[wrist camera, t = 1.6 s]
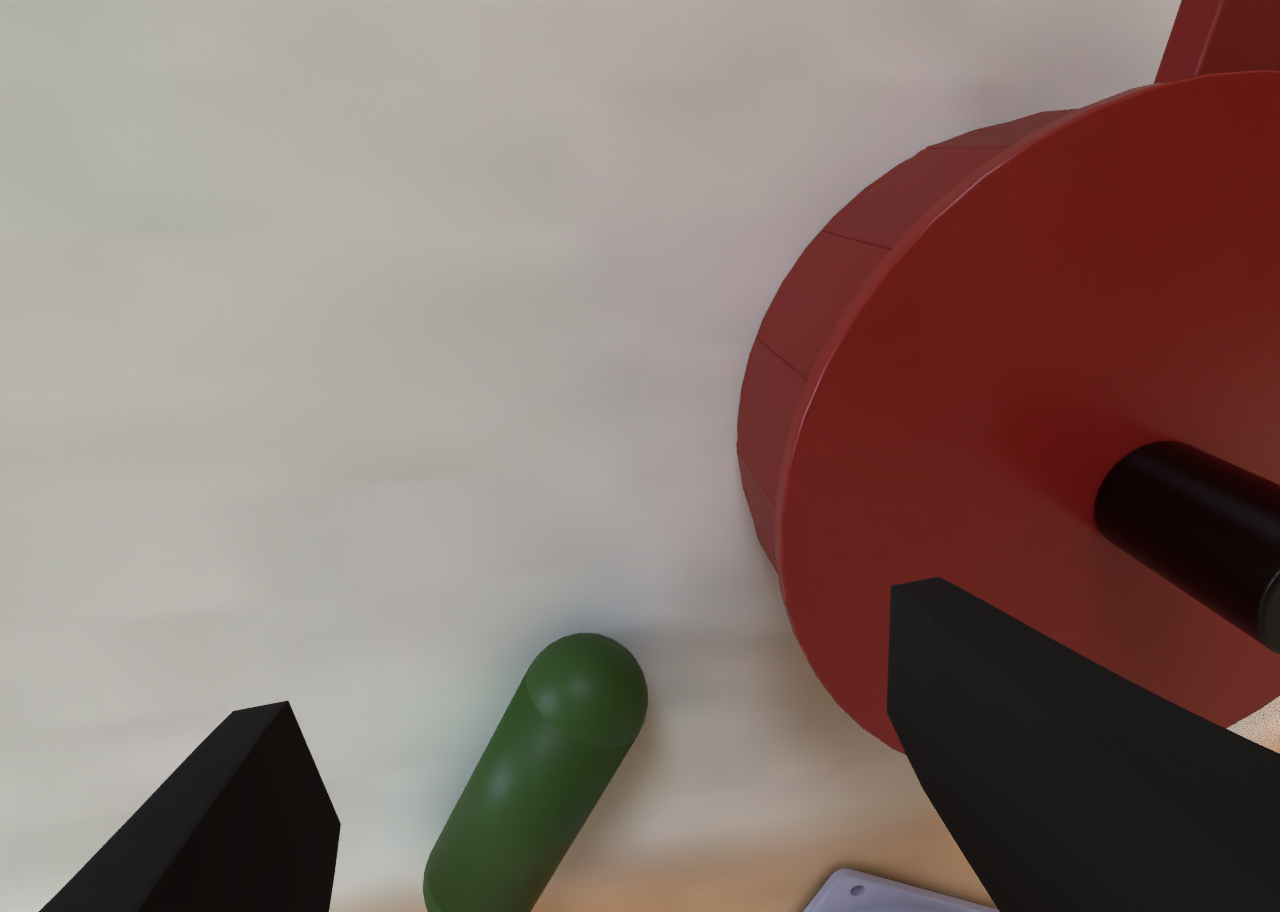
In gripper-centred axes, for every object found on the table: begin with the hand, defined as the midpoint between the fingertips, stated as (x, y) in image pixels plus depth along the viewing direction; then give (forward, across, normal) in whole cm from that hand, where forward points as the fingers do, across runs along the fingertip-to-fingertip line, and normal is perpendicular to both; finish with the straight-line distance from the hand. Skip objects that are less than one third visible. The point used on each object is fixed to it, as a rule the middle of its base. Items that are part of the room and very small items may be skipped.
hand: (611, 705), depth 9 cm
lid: (+5, -11, +2) cm, 13 cm away
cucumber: (+10, +3, +11) cm, 15 cm away
